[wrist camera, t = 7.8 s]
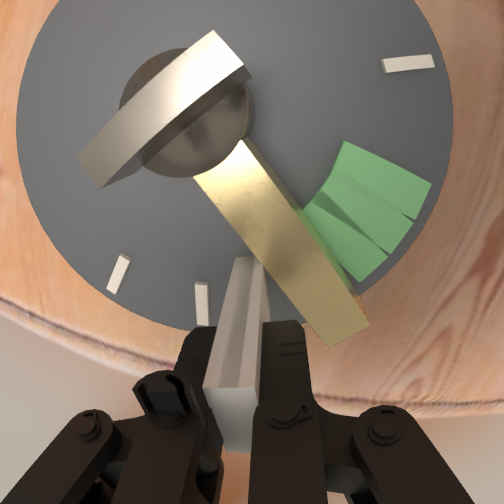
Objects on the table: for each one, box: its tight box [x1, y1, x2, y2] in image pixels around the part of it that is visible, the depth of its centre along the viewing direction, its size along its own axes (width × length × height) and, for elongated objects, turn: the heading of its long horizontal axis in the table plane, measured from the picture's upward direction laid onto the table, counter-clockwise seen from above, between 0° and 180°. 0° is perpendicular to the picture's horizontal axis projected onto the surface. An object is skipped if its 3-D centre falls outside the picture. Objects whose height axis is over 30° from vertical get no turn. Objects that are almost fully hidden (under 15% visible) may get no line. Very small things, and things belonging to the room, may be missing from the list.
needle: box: [77, 30, 370, 348], centre depth 10 cm, size 13×5×5 cm, turn 37°
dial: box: [16, 0, 453, 331], centre depth 12 cm, size 22×22×2 cm
